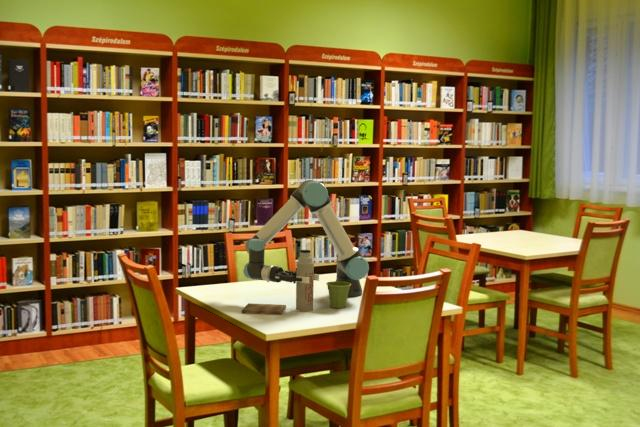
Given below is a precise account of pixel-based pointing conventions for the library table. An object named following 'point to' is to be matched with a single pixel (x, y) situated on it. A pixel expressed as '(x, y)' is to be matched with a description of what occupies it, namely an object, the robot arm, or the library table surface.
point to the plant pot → (338, 293)
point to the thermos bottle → (304, 289)
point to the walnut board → (264, 309)
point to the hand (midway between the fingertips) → (313, 279)
